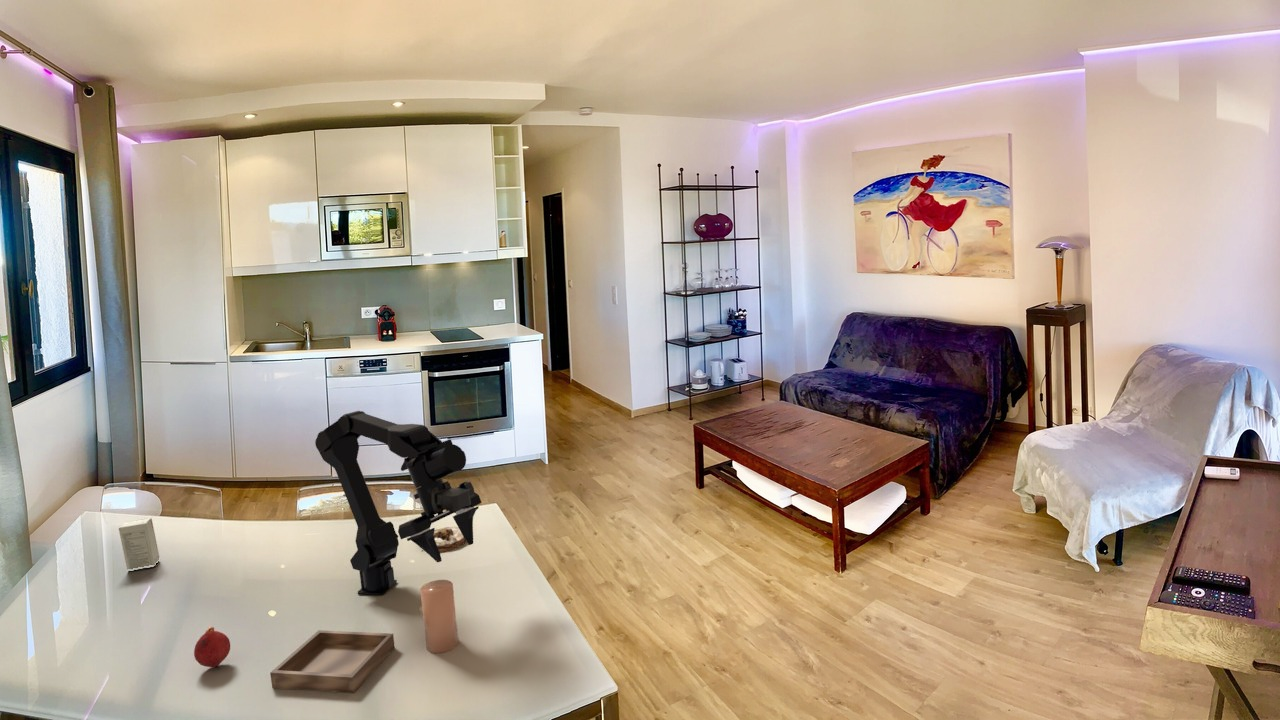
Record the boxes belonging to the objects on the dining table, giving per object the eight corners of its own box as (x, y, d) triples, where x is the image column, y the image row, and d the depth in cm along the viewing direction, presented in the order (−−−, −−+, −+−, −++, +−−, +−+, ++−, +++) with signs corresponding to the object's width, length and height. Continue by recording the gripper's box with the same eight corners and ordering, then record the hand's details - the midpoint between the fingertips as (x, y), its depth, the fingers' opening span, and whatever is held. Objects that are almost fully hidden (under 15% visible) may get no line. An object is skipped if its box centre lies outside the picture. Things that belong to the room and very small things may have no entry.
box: (272, 688, 123) (270, 672, 123) (320, 644, 137) (318, 630, 136) (353, 693, 120) (352, 677, 120) (394, 647, 134) (393, 633, 134)
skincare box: (160, 561, 181) (153, 517, 179) (155, 568, 177) (147, 523, 175) (132, 565, 179) (124, 521, 177) (125, 572, 175) (117, 527, 173)
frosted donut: (414, 538, 189) (412, 523, 188) (469, 529, 193) (468, 515, 193) (414, 560, 175) (412, 544, 174) (474, 549, 179) (473, 534, 179)
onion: (215, 677, 127) (209, 637, 126) (189, 675, 128) (183, 635, 127) (239, 659, 133) (233, 620, 132) (214, 657, 134) (208, 619, 133)
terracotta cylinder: (420, 652, 132) (414, 594, 130) (435, 635, 138) (429, 579, 136) (450, 653, 131) (444, 595, 129) (463, 636, 137) (457, 580, 135)
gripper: (418, 487, 133) (447, 563, 132) (484, 460, 149) (511, 528, 148) (384, 501, 139) (412, 574, 138) (451, 474, 155) (477, 539, 154)
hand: (455, 552), depth 144 cm, fingers open, 9 cm apart
